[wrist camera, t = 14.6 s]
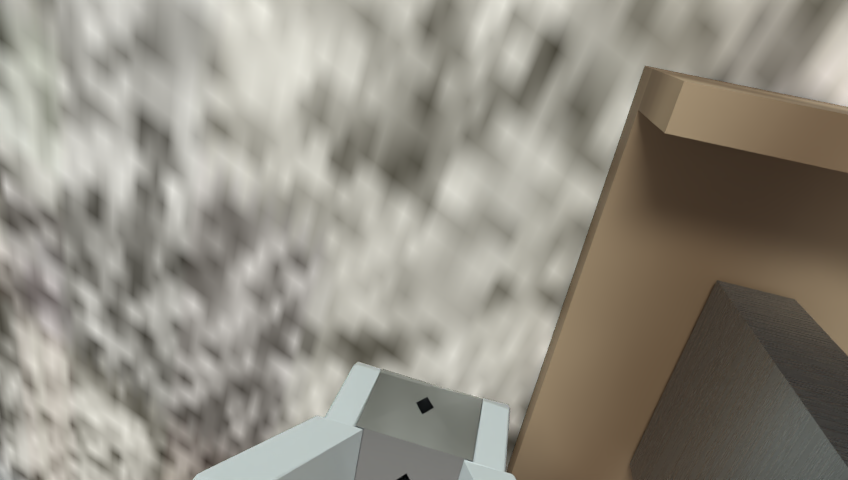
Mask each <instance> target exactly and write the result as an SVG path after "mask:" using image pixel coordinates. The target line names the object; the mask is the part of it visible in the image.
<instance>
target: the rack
mask: <svg viewBox="0 0 848 480" xmlns="http://www.w3.org/2000/svg"><path fill="white" fill-rule="evenodd" d="M717 280H719V281H723V282H727V283H731V284H735V285H739V286H743V287H747V288H751V289H755V290H759V291H763V292H768V293H772V294H776V295H780V296H784V297H788V298H792V299H795V300H796V301H797V302H798V303H799V304H800V305H801V306H802V307H803V308H804V310H805V311H806V312H807V313H808V314H809V315H810V316H811V317H812V318H813V319H814V320H815V321H816V322H817V324H818V325H819V326H820V327H821V328H822V329H823V330H824V331H825V332H826V333H827V334H828V335H829V336H830V337H831V339H832V340H833V341H834V342H835V343H836V344H837V345H838V346H839V347H840V348H841V349H842V350H843V351H844V352H845V354H846V355H847V356H848V107H845V106H840V105H835V104H830V103H825V102H820V101H815V100H810V99H805V98H801V97H796V96H791V95H786V94H781V93H776V92H771V91H766V90H761V89H756V88H751V87H746V86H742V85H737V84H732V83H727V82H722V81H717V80H712V79H707V78H702V77H697V76H692V75H687V74H683V73H678V72H673V71H668V70H663V69H658V68H653V67H648V66H645V67H644V70H643V73H642V76H641V79H640V82H639V85H638V88H637V90H636V93H635V96H634V99H633V102H632V105H631V108H630V111H629V114H628V117H627V120H626V123H625V126H624V128H623V131H622V134H621V137H620V140H619V143H618V146H617V149H616V152H615V155H614V158H613V161H612V164H611V167H610V169H609V172H608V175H607V178H606V181H605V184H604V187H603V190H602V193H601V196H600V199H599V202H598V205H597V207H596V210H595V213H594V216H593V219H592V222H591V225H590V228H589V231H588V234H587V237H586V240H585V243H584V245H583V248H582V251H581V254H580V257H579V260H578V263H577V266H576V269H575V272H574V275H573V278H572V281H571V283H570V286H569V289H568V292H567V295H566V298H565V301H564V304H563V307H562V310H561V313H560V316H559V319H558V321H557V324H556V327H555V330H554V333H553V336H552V339H551V342H550V345H549V348H548V351H547V354H546V357H545V359H544V362H543V365H542V368H541V371H540V374H539V377H538V380H537V383H536V386H535V389H534V392H533V395H532V398H531V400H530V403H529V406H528V409H527V412H526V415H525V418H524V421H523V424H522V427H521V430H520V433H519V436H518V438H517V441H516V444H515V447H514V450H513V453H512V456H511V459H510V462H509V465H508V470H507V473H510V474H513V475H514V476H515V478H516V480H633V478H632V473H631V468H630V462H631V460H632V458H633V456H634V454H635V452H636V449H637V447H638V445H639V443H640V441H641V439H642V437H643V435H644V433H645V431H646V428H647V426H648V424H649V422H650V420H651V418H652V416H653V414H654V412H655V409H656V407H657V405H658V403H659V401H660V399H661V397H662V395H663V393H664V391H665V388H666V386H667V384H668V382H669V380H670V378H671V376H672V374H673V372H674V370H675V367H676V365H677V363H678V361H679V359H680V357H681V355H682V353H683V351H684V349H685V346H686V344H687V342H688V340H689V338H690V336H691V334H692V332H693V330H694V327H695V325H696V323H697V321H698V319H699V317H700V315H701V313H702V311H703V309H704V306H705V304H706V302H707V300H708V298H709V296H710V294H711V292H712V290H713V288H714V285H715V283H716V281H717Z"/></svg>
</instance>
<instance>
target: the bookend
mask: <svg viewBox="0 0 848 480" xmlns="http://www.w3.org/2000/svg"><path fill="white" fill-rule="evenodd" d="M630 468H631V473H632V478H633V480H848V356H847V355H846V354H845V352H844V351H843V350H842V349H841V348H840V347H839V346H838V345H837V344H836V343H835V342H834V341H833V340H832V339H831V337H830V336H829V335H828V334H827V333H826V332H825V331H824V330H823V329H822V328H821V327H820V326H819V325H818V324H817V322H816V321H815V320H814V319H813V318H812V317H811V316H810V315H809V314H808V313H807V312H806V311H805V310H804V308H803V307H802V306H801V305H800V304H799V303H798V302H797V301H796V300H795V299H792V298H788V297H784V296H780V295H776V294H772V293H768V292H763V291H759V290H755V289H751V288H747V287H743V286H739V285H735V284H731V283H727V282H723V281H719V280H717V281H716V283H715V285H714V288H713V290H712V292H711V294H710V296H709V298H708V300H707V302H706V304H705V306H704V309H703V311H702V313H701V315H700V317H699V319H698V321H697V323H696V325H695V327H694V330H693V332H692V334H691V336H690V338H689V340H688V342H687V344H686V346H685V349H684V351H683V353H682V355H681V357H680V359H679V361H678V363H677V365H676V367H675V370H674V372H673V374H672V376H671V378H670V380H669V382H668V384H667V386H666V388H665V391H664V393H663V395H662V397H661V399H660V401H659V403H658V405H657V407H656V409H655V412H654V414H653V416H652V418H651V420H650V422H649V424H648V426H647V428H646V431H645V433H644V435H643V437H642V439H641V441H640V443H639V445H638V447H637V449H636V452H635V454H634V456H633V458H632V460H631V462H630Z"/></svg>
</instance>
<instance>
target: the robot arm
mask: <svg viewBox="0 0 848 480" xmlns="http://www.w3.org/2000/svg"><path fill="white" fill-rule="evenodd" d="M509 417H510V407H509V405H508V404H504V403H501V402H497V401H493V400H489V399H485V398H483V399H482V398H479V397H475V396H472V395H468V394H464V393H461V392H457V391H454V390H450V389H447V388H443V387H439V386H436V385H432V384H430V383H426V382H423V381H420V380H417V379H414V378H410V377H407V376H404V375H401V374H398V373H394V372H391V371H388V370H385V369H383V370H382V369H380V368H377V367H374V366H370V365H367V364H364V363H361V362H357V363H356V364H355V365H354V366H353V367H352V369H351V371H350V373H349V374H348V376H347V378H346V380H345V382H344V383H343V385H342V387H341V389H340V391H339V393H338V394H337V396H336V398H335V400H334V402H333V403H332V405H331V407H330V409H329V411H328V412H327V414H326V416H325V418H324V417H321V416H315V417H313V418H311V419H309V420H307V421H305V422H303V423H301V424H299V425H297V426H295V427H293V428H291V429H288V430H286V431H284V432H282V433H280V434H278V435H276V436H274V437H272V438H270V439H268V440H266V441H264V442H262V443H260V444H258V445H256V446H254V447H252V448H250V449H247V450H245V451H243V452H241V453H239V454H237V455H235V456H233V457H231V458H229V459H227V460H225V461H223V462H221V463H219V464H217V465H215V466H213V467H211V468H209V469H206V470H204V471H202V472H200V473H198V474H197V475H196V476H195V477H194V479H193V480H516V478H515V476H514V475H513V474H510V473H507V472H505V470H506V457H507V443H508V430H509Z"/></svg>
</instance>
